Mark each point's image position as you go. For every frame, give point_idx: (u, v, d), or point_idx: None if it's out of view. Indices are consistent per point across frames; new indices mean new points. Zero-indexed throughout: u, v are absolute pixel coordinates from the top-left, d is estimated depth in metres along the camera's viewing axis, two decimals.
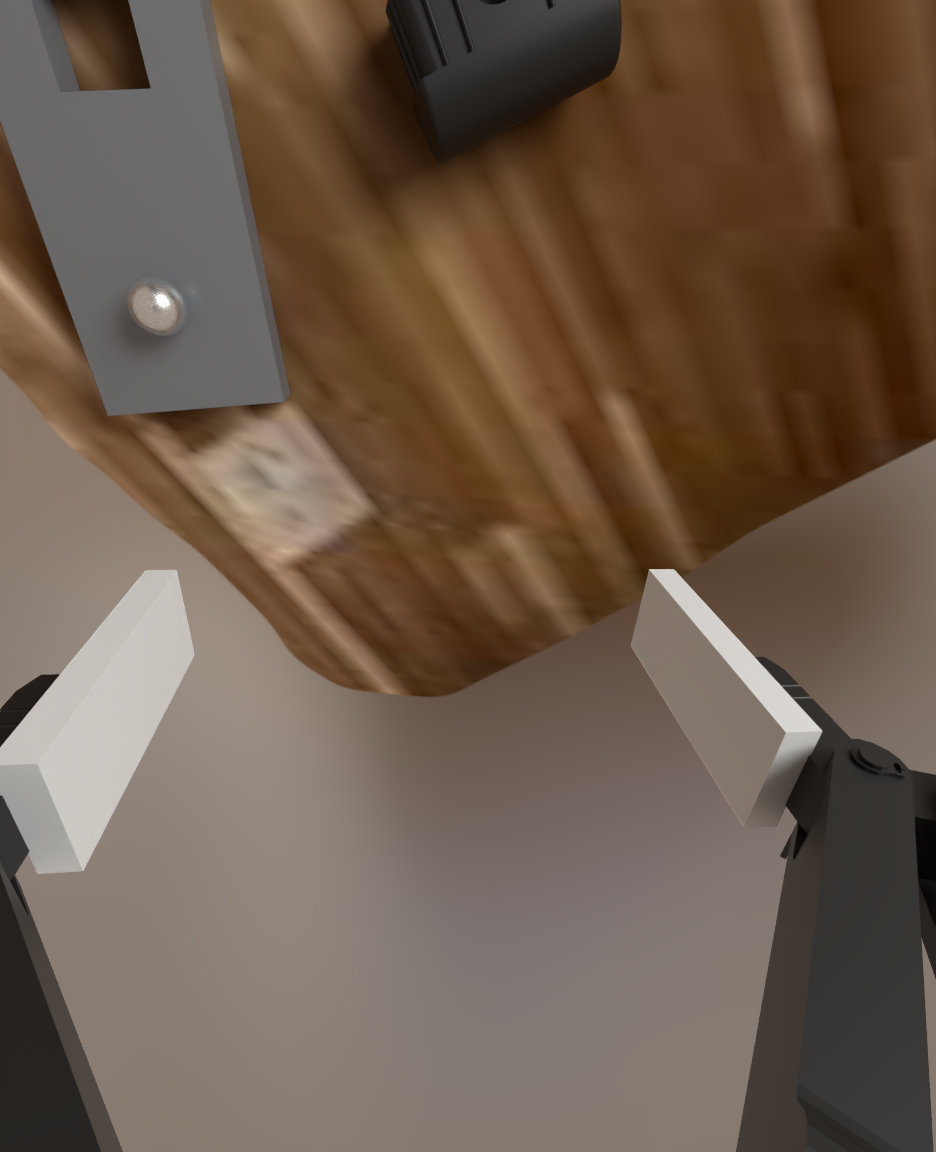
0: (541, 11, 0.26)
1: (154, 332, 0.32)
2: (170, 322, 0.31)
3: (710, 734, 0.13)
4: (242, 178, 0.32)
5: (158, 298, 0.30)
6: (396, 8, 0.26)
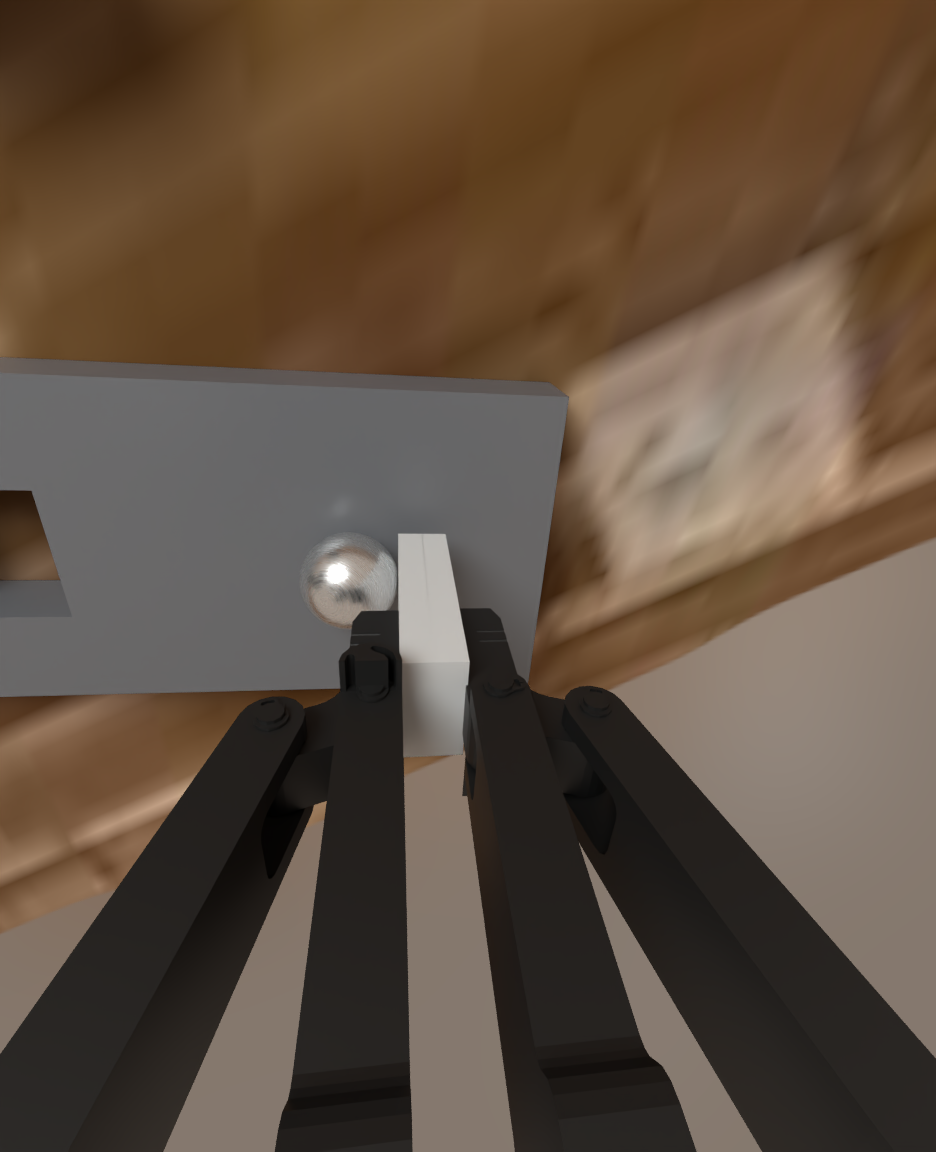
0: None
1: (375, 609, 0.17)
2: (357, 577, 0.16)
3: None
4: (161, 370, 0.17)
5: (314, 579, 0.16)
6: None
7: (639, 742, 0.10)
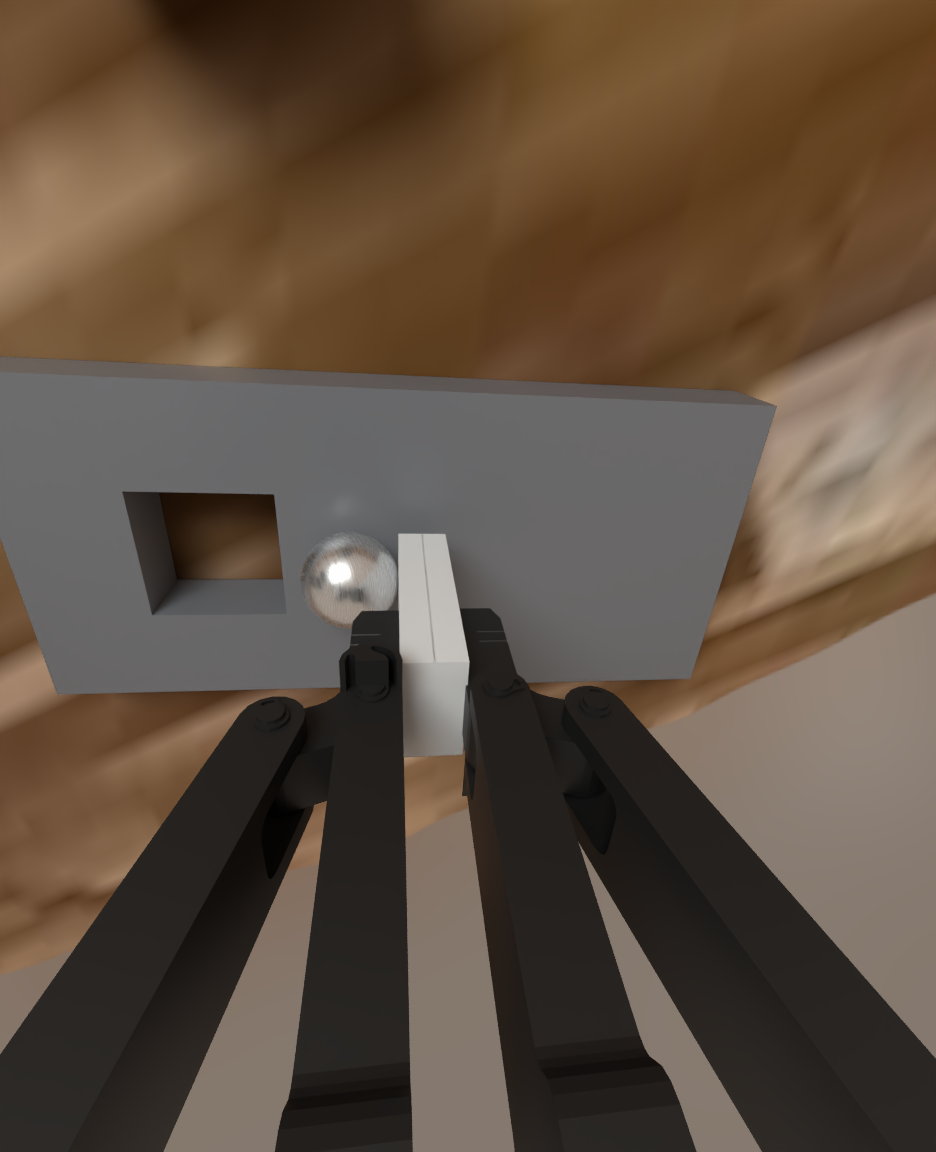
0: None
1: None
2: None
3: None
4: (395, 380, 0.18)
5: None
6: None
7: (640, 742, 0.10)
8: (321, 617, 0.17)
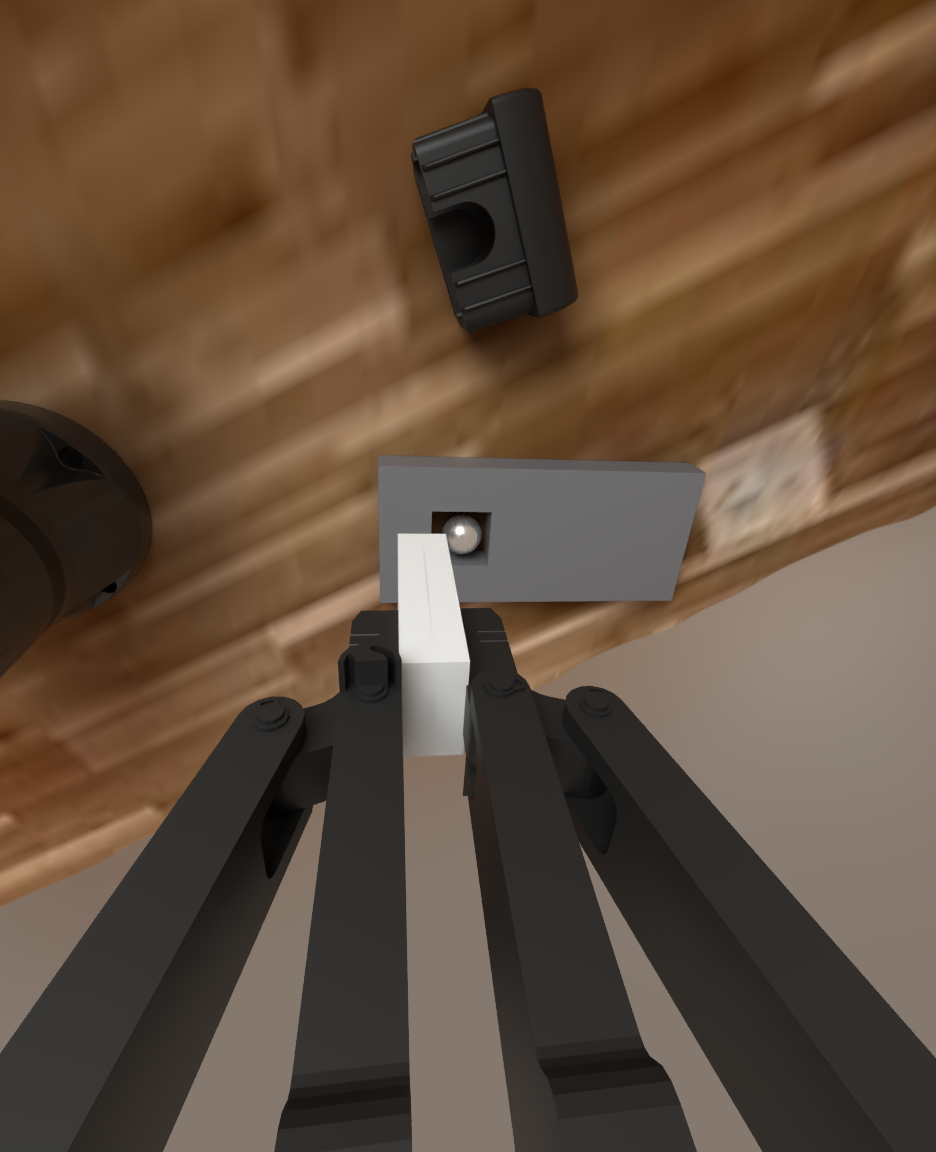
0: (504, 185, 0.29)
1: (453, 544, 0.42)
2: (450, 529, 0.42)
3: None
4: (542, 463, 0.41)
5: None
6: None
7: (640, 742, 0.10)
8: None
